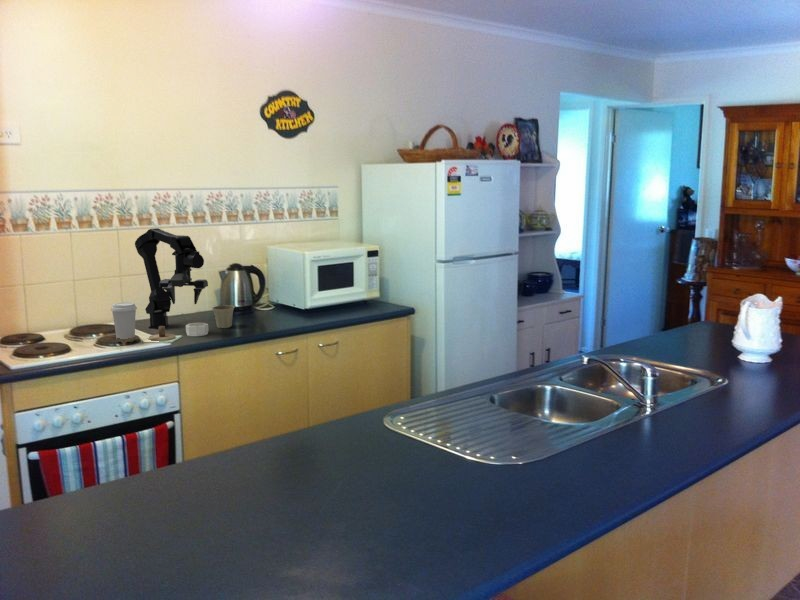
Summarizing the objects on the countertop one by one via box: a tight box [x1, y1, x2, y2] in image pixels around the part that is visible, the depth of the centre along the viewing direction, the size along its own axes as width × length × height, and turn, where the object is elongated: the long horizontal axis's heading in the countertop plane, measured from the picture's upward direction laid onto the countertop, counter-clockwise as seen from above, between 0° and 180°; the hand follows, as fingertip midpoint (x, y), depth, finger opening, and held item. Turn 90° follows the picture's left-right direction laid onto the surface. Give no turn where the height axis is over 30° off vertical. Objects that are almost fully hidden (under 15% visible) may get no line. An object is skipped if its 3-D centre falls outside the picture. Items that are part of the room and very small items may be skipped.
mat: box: [146, 335, 183, 344], centre depth 292 cm, size 12×11×1 cm
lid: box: [148, 326, 176, 341], centre depth 291 cm, size 10×10×5 cm
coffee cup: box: [110, 301, 138, 339], centre depth 287 cm, size 10×10×15 cm
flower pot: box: [211, 304, 236, 329], centre depth 317 cm, size 9×9×9 cm
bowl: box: [185, 322, 209, 337], centre depth 302 cm, size 8×8×4 cm
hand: (184, 304), depth 304 cm, fingers open, 9 cm apart
